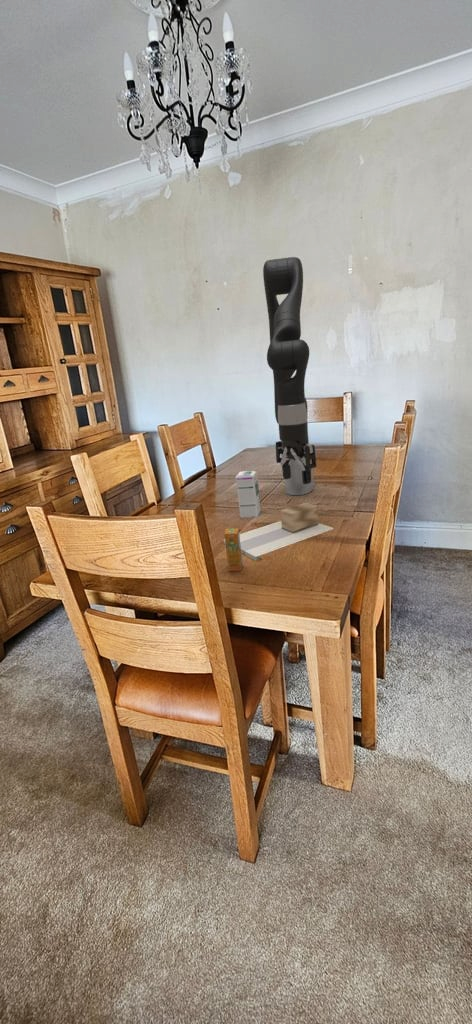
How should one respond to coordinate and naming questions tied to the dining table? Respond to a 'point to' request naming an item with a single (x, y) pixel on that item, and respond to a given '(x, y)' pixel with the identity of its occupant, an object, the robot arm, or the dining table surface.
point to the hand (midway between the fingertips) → (296, 481)
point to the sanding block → (299, 517)
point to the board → (274, 538)
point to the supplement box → (233, 549)
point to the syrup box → (248, 494)
